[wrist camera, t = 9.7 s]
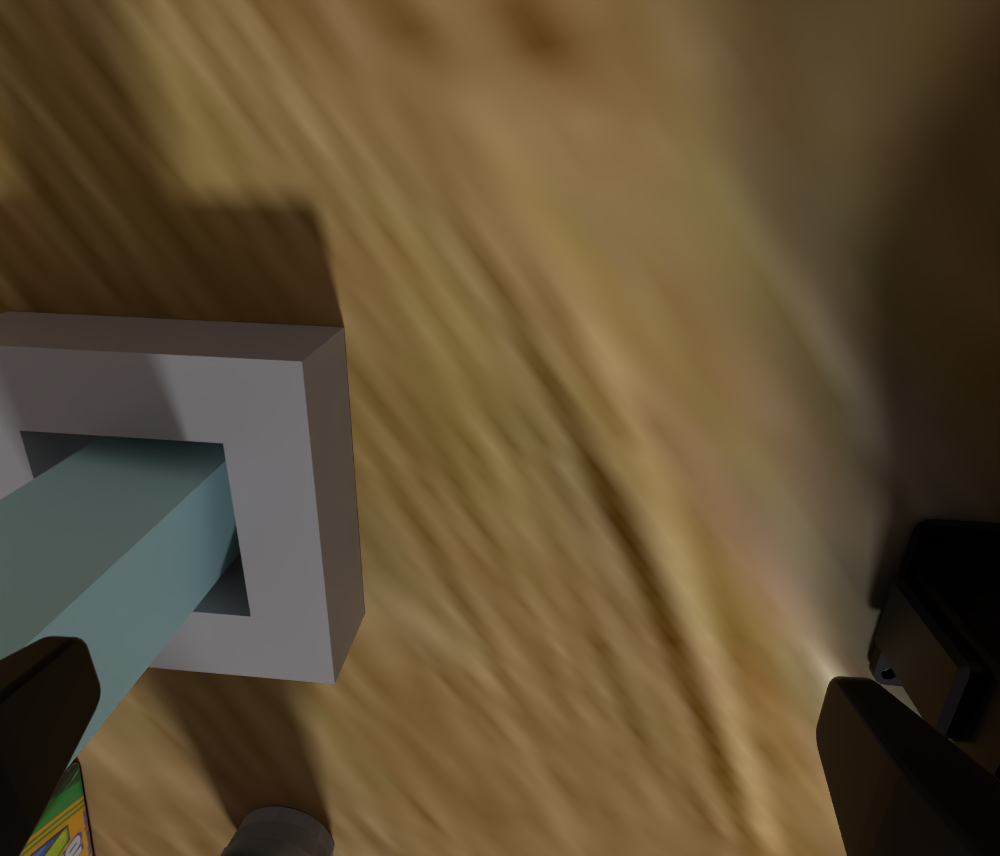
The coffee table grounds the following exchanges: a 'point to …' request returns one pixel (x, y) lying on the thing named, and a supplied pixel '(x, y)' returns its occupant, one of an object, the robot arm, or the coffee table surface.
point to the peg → (115, 553)
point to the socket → (249, 458)
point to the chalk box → (63, 821)
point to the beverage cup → (280, 835)
